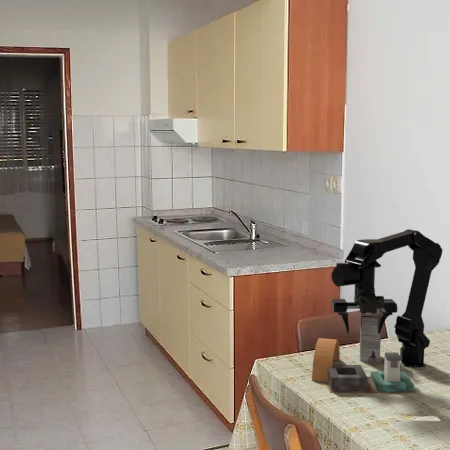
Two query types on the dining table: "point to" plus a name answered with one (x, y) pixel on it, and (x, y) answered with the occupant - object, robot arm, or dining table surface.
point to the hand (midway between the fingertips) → (363, 333)
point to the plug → (392, 367)
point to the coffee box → (369, 338)
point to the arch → (324, 358)
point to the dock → (364, 381)
